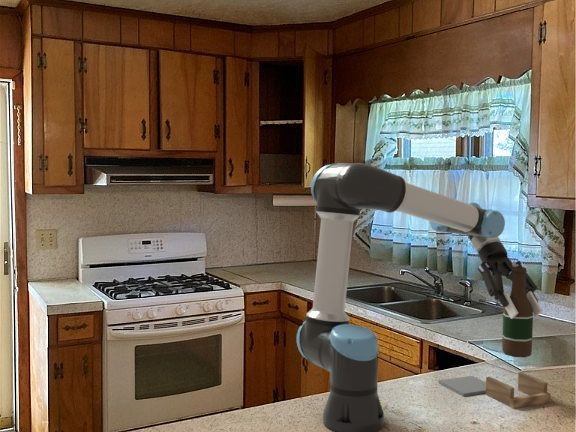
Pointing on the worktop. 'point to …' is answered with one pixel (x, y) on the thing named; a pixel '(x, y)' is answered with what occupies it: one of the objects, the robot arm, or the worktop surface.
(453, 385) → the coaster
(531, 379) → the cradle
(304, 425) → the worktop surface
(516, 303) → the beer bottle
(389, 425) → the worktop surface
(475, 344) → the worktop surface
